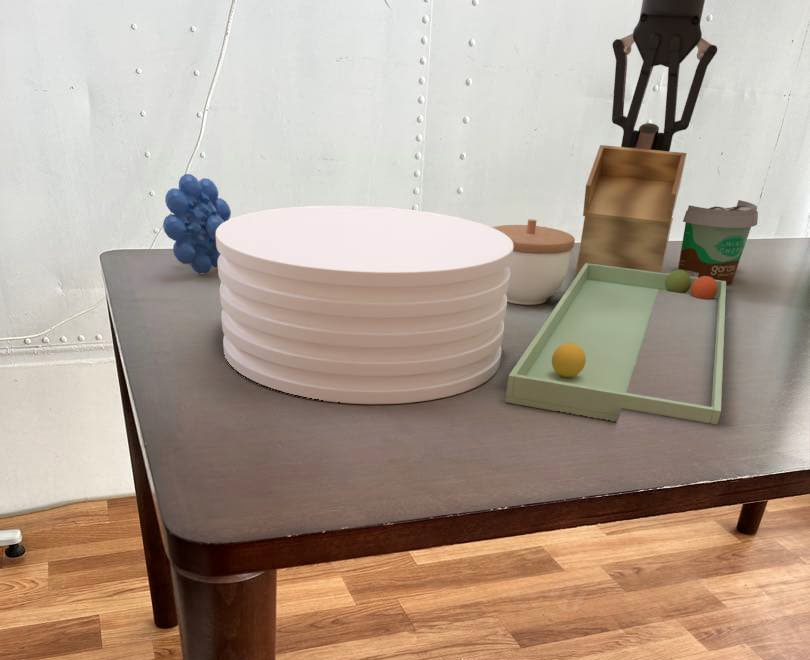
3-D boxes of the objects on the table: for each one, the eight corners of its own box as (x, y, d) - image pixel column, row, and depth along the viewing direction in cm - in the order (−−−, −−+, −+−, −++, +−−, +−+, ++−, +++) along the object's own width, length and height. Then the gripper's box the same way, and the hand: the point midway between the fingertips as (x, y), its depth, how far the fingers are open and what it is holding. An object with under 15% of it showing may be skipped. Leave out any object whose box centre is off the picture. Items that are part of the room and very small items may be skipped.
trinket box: (517, 315, 97) (527, 232, 92) (463, 291, 104) (469, 214, 99) (582, 304, 102) (596, 225, 97) (526, 282, 109) (536, 208, 104)
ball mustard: (590, 338, 77) (583, 363, 75) (587, 362, 80) (580, 386, 78) (556, 333, 78) (548, 358, 76) (555, 357, 80) (547, 381, 79)
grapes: (198, 289, 99) (189, 183, 93) (156, 279, 102) (145, 175, 95) (258, 270, 108) (253, 172, 102) (218, 261, 111) (211, 165, 104)
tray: (721, 301, 107) (726, 281, 105) (713, 439, 69) (721, 411, 68) (582, 282, 111) (585, 262, 110) (504, 402, 74) (508, 375, 73)
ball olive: (688, 294, 107) (693, 269, 105) (688, 298, 104) (693, 272, 102) (663, 292, 107) (667, 267, 106) (662, 296, 105) (667, 270, 103)
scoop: (686, 158, 113) (693, 126, 109) (669, 226, 105) (676, 194, 101) (605, 150, 115) (609, 119, 112) (582, 216, 108) (585, 184, 104)
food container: (706, 292, 110) (725, 214, 105) (669, 281, 114) (686, 205, 109) (759, 282, 116) (780, 207, 111) (722, 271, 120) (741, 199, 115)
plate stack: (556, 378, 80) (575, 257, 73) (289, 425, 67) (285, 284, 61) (413, 300, 100) (419, 200, 94) (188, 325, 88) (177, 212, 81)
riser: (660, 277, 116) (673, 217, 112) (657, 287, 111) (670, 225, 107) (581, 266, 119) (591, 208, 114) (575, 276, 114) (584, 215, 109)
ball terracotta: (709, 303, 105) (724, 297, 102) (687, 306, 104) (702, 300, 101) (705, 278, 105) (720, 271, 101) (683, 281, 104) (698, 274, 101)
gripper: (609, -25, 100) (578, 181, 113) (744, -19, 96) (695, 194, 109) (616, -21, 106) (586, 174, 119) (743, -16, 102) (697, 186, 115)
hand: (638, 183), depth 114 cm, fingers closed on scoop, 3 cm apart
